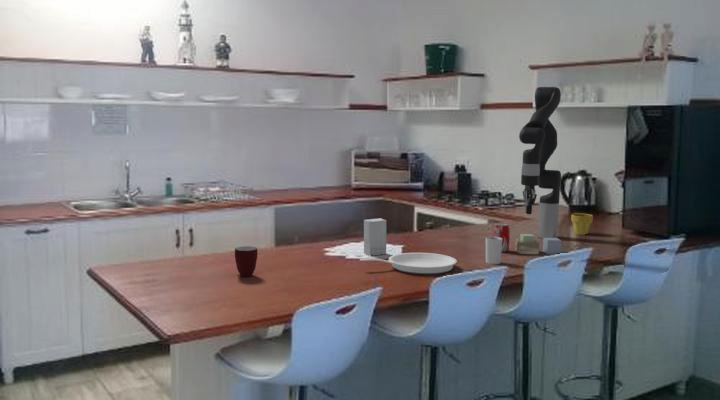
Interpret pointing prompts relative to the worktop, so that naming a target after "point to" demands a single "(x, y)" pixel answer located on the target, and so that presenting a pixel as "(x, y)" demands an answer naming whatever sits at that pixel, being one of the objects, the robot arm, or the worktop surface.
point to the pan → (420, 263)
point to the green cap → (527, 238)
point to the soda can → (502, 235)
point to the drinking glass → (493, 250)
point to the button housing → (527, 247)
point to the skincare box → (375, 236)
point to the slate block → (551, 245)
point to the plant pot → (581, 223)
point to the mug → (246, 260)
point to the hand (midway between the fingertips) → (528, 213)
